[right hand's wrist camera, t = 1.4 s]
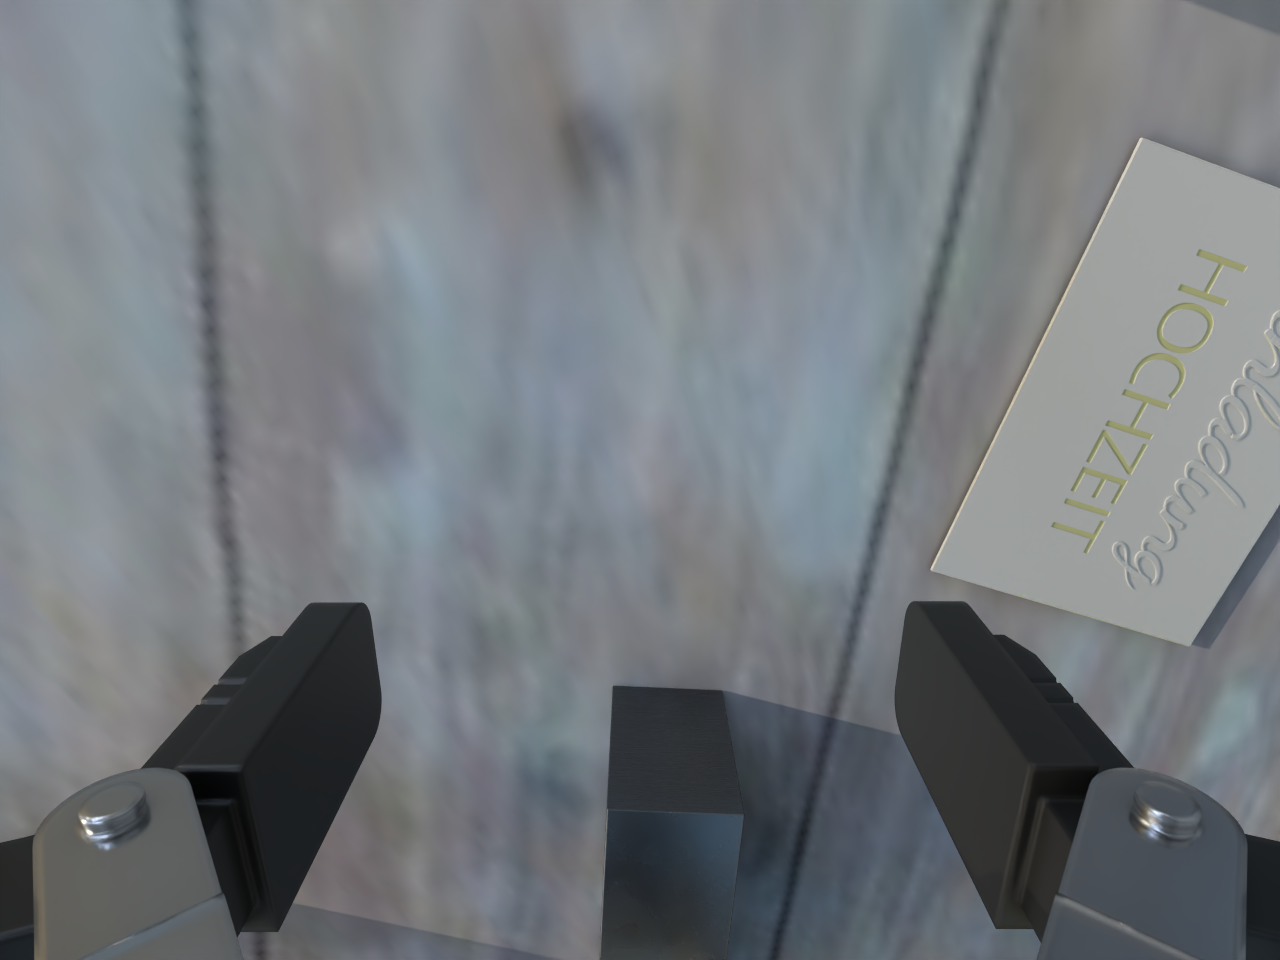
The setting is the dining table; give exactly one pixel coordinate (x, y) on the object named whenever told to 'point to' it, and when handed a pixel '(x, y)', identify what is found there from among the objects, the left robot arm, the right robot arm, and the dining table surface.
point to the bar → (670, 827)
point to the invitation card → (1142, 412)
